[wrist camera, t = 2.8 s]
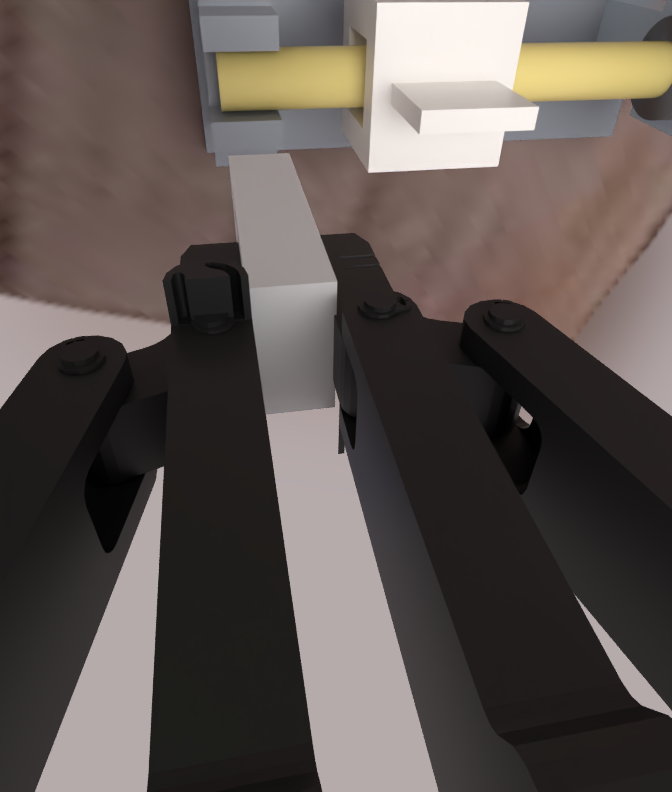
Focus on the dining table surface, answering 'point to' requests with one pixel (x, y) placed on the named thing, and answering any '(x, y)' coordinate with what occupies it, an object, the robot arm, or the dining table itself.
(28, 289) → the dining table surface
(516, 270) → the dining table surface
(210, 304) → the robot arm
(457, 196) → the dining table surface
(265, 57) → the grey rod stand
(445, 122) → the sleeve
